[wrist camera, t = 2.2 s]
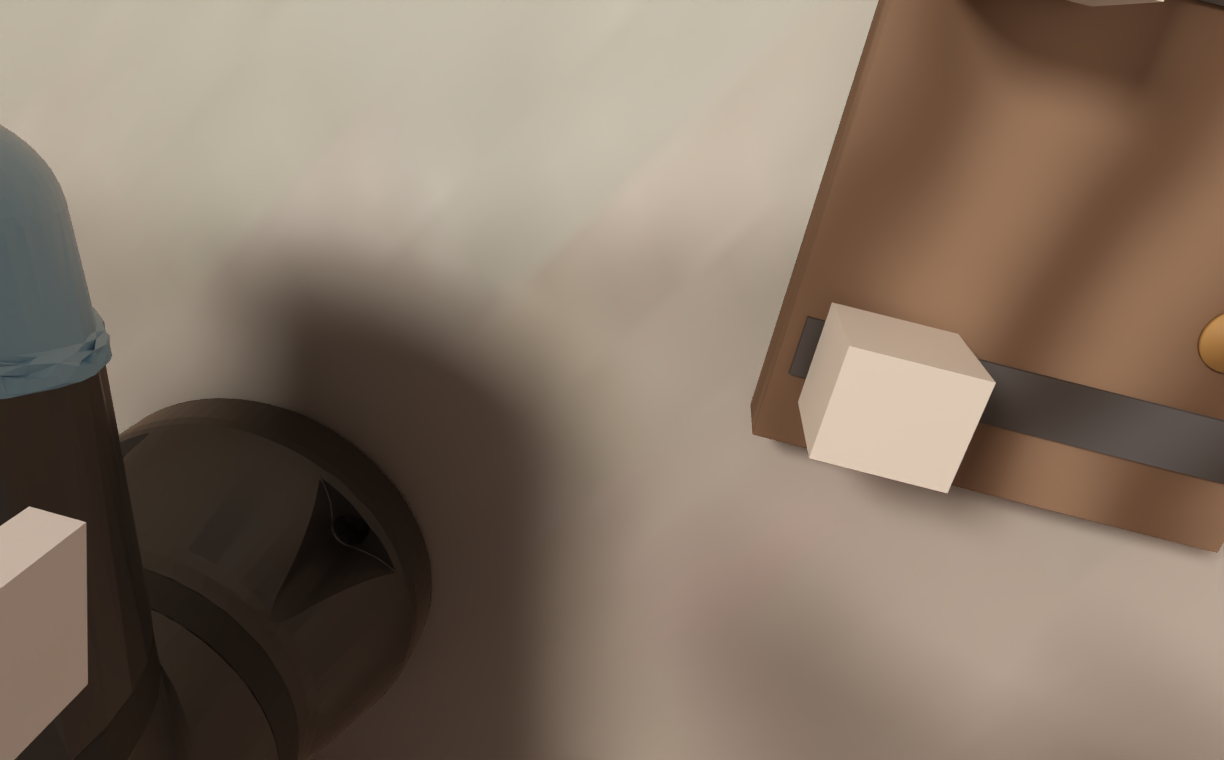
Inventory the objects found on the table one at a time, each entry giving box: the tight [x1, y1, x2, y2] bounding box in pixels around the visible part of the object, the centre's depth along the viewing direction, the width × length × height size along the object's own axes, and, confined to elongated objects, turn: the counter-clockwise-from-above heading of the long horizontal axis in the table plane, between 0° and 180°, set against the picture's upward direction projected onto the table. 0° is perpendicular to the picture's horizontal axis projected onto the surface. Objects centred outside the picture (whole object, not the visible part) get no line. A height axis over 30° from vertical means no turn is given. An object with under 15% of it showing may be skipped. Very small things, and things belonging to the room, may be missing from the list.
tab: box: [798, 302, 996, 493], centre depth 25 cm, size 4×4×4 cm
